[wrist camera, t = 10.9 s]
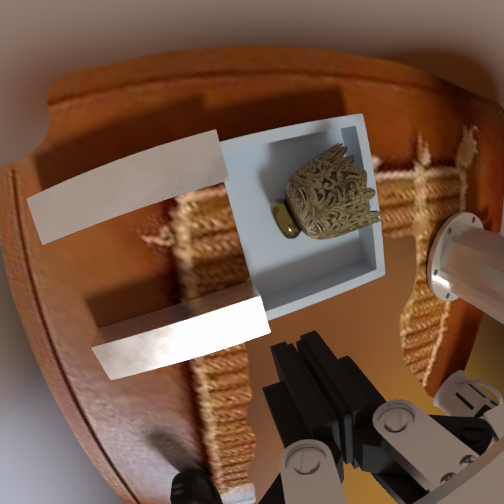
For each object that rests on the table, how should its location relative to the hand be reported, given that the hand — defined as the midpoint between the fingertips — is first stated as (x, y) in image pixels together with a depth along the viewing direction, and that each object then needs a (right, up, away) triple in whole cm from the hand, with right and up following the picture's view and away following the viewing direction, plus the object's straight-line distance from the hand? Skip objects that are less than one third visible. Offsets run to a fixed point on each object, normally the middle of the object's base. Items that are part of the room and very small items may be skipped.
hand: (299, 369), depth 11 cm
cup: (0, +7, +16) cm, 17 cm away
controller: (-10, -30, +27) cm, 41 cm away
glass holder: (+36, -20, +36) cm, 54 cm away
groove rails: (-10, +4, +16) cm, 20 cm away
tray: (+3, +8, +18) cm, 20 cm away
